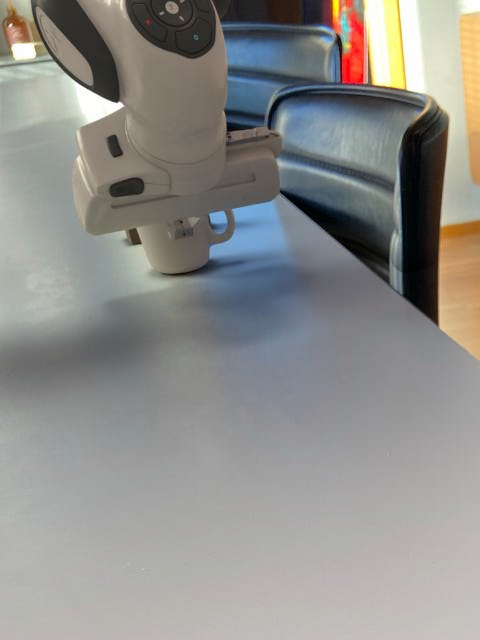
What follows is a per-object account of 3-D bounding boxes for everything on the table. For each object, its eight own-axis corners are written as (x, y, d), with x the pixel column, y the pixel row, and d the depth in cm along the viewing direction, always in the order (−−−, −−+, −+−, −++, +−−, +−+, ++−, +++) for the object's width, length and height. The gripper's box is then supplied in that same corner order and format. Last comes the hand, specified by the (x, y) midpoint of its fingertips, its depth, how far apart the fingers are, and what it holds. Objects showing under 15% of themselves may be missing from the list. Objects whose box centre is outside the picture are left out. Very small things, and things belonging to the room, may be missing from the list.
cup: (245, 251, 117) (229, 176, 112) (241, 271, 110) (224, 192, 106) (150, 262, 116) (131, 187, 112) (141, 282, 110) (120, 204, 105)
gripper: (272, 97, 99) (264, 188, 112) (57, 132, 92) (76, 224, 106) (294, 153, 98) (285, 238, 111) (79, 192, 92) (96, 278, 105)
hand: (181, 232), depth 108 cm, fingers closed, pressing on cup
